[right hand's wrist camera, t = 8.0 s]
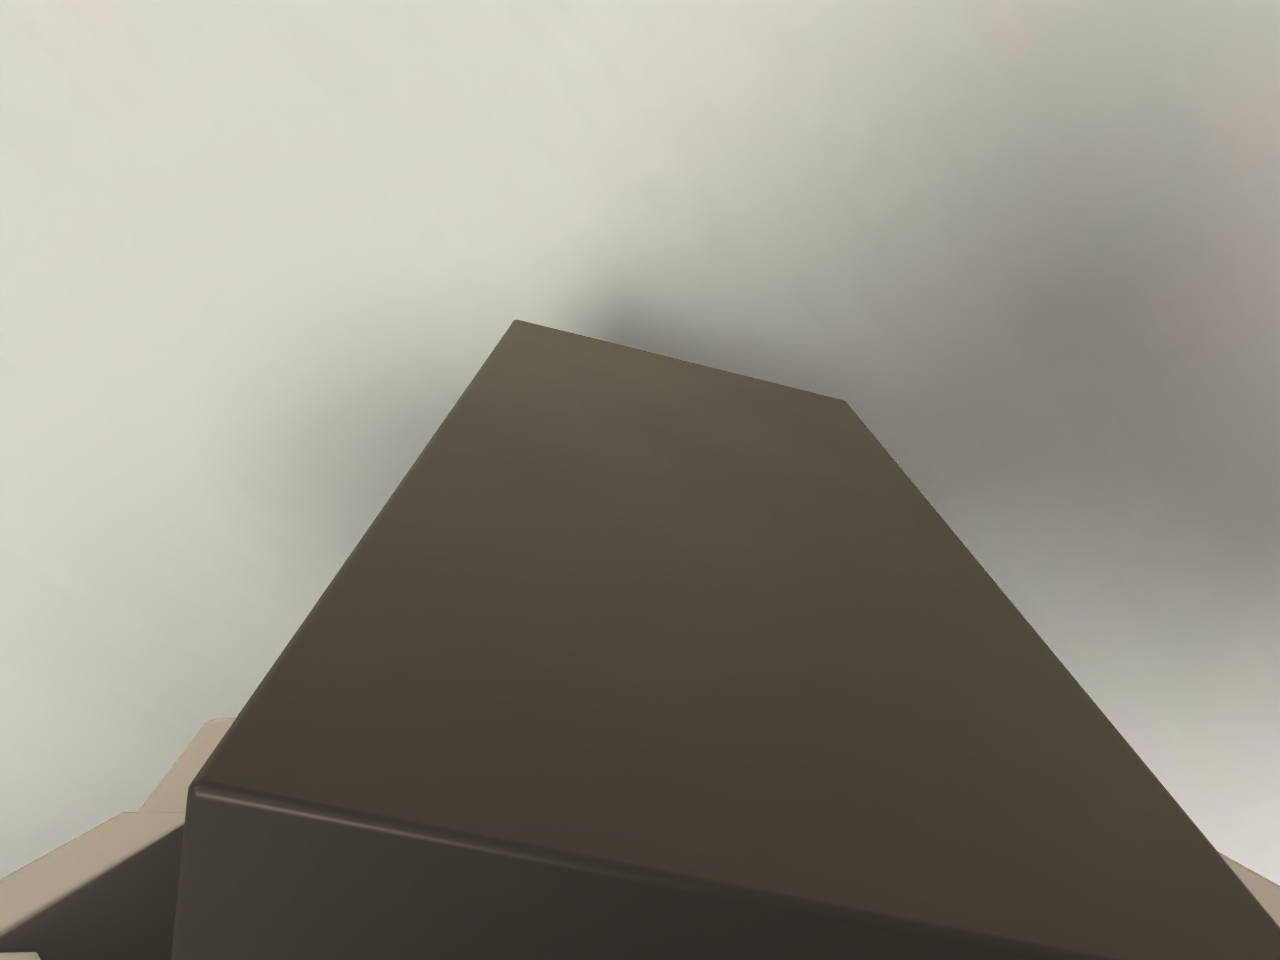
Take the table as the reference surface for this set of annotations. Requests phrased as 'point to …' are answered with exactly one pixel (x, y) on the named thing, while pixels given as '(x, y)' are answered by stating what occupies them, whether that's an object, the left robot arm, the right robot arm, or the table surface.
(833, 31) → the table surface
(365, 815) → the box
